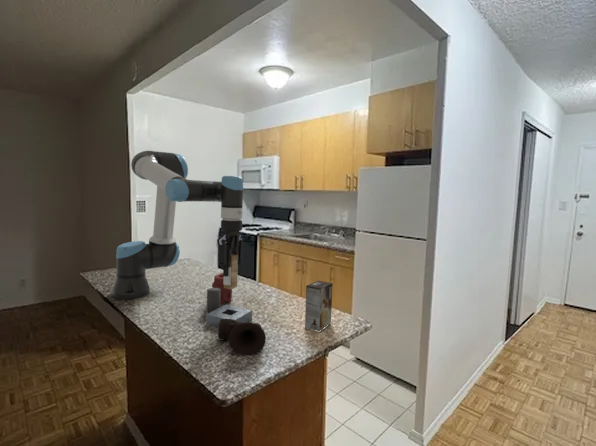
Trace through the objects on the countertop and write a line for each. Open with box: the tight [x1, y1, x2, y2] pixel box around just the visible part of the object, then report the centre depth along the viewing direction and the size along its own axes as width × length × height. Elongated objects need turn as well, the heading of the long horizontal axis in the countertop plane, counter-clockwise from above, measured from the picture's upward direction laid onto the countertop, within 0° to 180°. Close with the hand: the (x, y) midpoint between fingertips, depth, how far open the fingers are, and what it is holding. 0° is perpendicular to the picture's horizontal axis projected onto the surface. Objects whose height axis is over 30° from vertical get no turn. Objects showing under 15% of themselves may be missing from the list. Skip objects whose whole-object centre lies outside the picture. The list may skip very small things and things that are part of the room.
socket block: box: [205, 304, 253, 329], centre depth 124 cm, size 12×12×4 cm
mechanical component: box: [211, 272, 233, 305], centre depth 146 cm, size 12×10×10 cm
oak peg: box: [224, 254, 239, 290], centre depth 122 cm, size 3×3×12 cm
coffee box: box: [304, 280, 333, 331], centre depth 123 cm, size 9×6×16 cm
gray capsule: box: [206, 287, 221, 314], centre depth 134 cm, size 5×5×9 cm
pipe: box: [217, 319, 266, 357], centre depth 107 cm, size 10×15×15 cm
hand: (230, 283), depth 122 cm, fingers closed on oak peg, 3 cm apart
